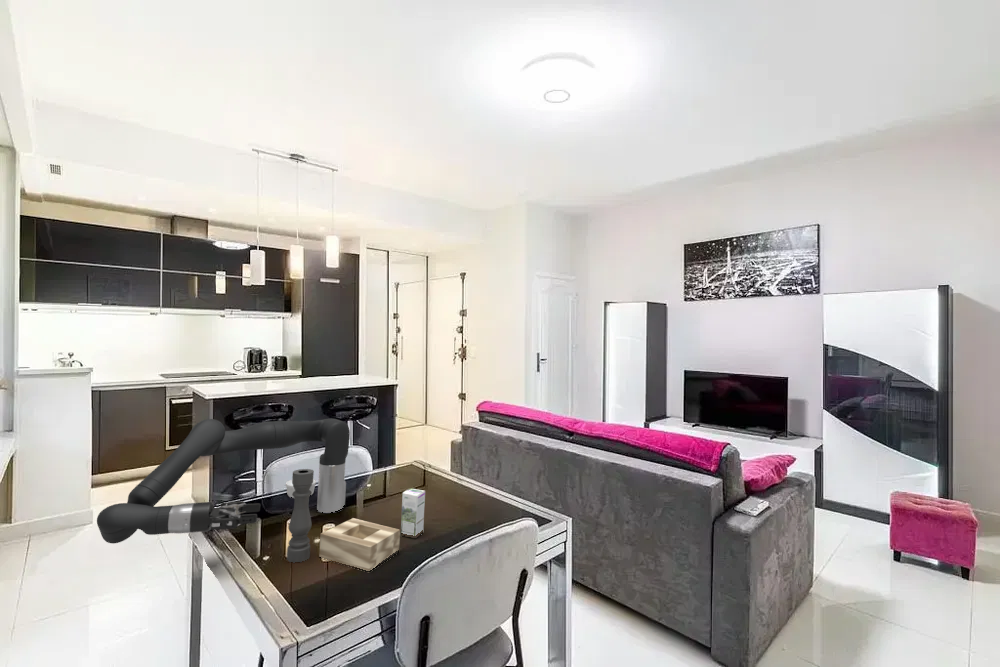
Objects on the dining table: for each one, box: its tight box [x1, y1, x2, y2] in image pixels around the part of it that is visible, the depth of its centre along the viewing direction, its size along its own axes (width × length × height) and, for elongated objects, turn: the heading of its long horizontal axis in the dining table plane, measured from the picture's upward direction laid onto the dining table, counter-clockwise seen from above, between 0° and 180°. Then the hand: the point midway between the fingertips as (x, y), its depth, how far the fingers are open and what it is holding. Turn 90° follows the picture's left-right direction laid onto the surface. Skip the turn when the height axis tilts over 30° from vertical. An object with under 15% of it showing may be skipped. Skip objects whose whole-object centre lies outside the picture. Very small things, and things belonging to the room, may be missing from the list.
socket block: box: [318, 517, 401, 571], centre depth 141 cm, size 14×18×7 cm
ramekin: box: [285, 478, 317, 499], centre depth 191 cm, size 11×11×5 cm
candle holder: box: [286, 468, 314, 564], centre depth 138 cm, size 6×6×25 cm
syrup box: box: [400, 488, 426, 536], centre depth 158 cm, size 6×6×14 cm
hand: (258, 512), depth 134 cm, fingers open, 8 cm apart
